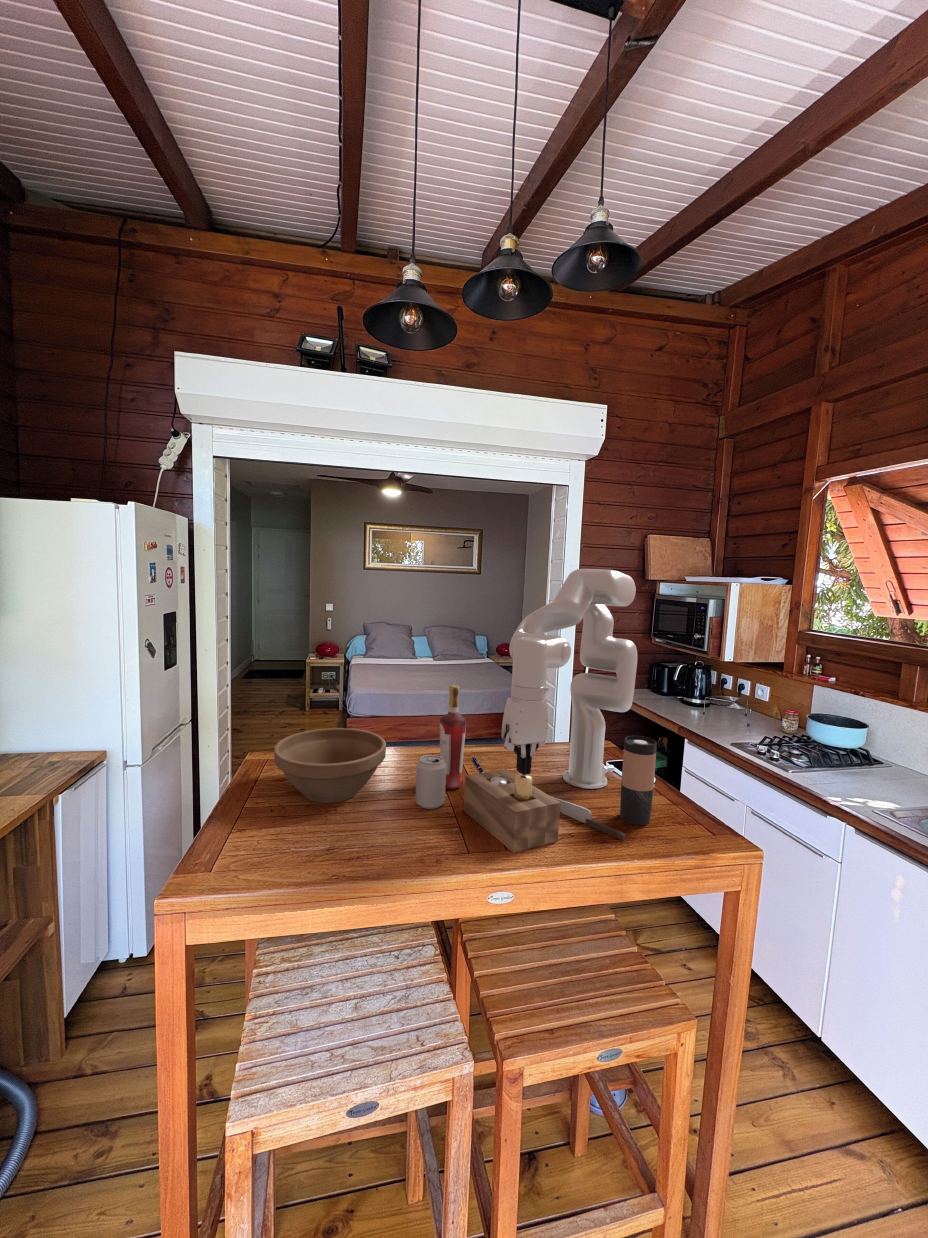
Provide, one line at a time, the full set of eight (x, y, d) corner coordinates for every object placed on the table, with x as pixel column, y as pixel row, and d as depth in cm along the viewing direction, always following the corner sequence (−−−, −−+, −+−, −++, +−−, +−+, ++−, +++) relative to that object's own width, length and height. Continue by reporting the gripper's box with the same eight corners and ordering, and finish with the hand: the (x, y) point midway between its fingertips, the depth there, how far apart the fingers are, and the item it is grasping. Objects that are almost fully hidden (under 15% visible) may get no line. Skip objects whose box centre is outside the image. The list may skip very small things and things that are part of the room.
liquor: (433, 782, 151) (437, 684, 149) (457, 779, 154) (462, 683, 151) (442, 792, 144) (446, 690, 142) (467, 789, 147) (472, 689, 145)
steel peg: (499, 809, 134) (501, 776, 134) (508, 815, 131) (510, 782, 130) (486, 812, 133) (487, 778, 132) (494, 818, 129) (496, 784, 128)
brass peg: (523, 806, 125) (525, 771, 125) (534, 813, 122) (536, 777, 121) (509, 809, 123) (511, 773, 123) (519, 816, 120) (521, 779, 119)
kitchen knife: (626, 825, 123) (526, 781, 145) (624, 827, 122) (523, 782, 144) (624, 843, 123) (525, 796, 145) (622, 845, 123) (522, 797, 144)
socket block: (504, 802, 140) (505, 769, 139) (557, 841, 121) (560, 802, 120) (463, 810, 134) (465, 775, 133) (513, 853, 115) (515, 812, 114)
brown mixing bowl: (320, 828, 122) (321, 772, 121) (250, 793, 139) (251, 743, 138) (406, 791, 145) (408, 743, 144) (337, 764, 162) (338, 721, 161)
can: (440, 812, 133) (442, 765, 132) (411, 808, 134) (413, 761, 133) (447, 799, 140) (449, 755, 139) (420, 796, 142) (421, 751, 141)
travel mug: (651, 815, 136) (656, 738, 134) (651, 828, 129) (657, 747, 127) (619, 809, 139) (625, 733, 137) (618, 822, 131) (623, 742, 130)
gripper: (544, 687, 127) (540, 763, 129) (490, 691, 120) (486, 771, 121) (565, 694, 120) (560, 774, 122) (509, 699, 113) (504, 783, 115)
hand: (523, 772), depth 122 cm, fingers closed
